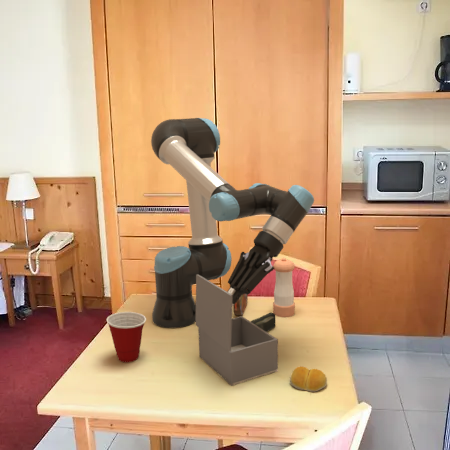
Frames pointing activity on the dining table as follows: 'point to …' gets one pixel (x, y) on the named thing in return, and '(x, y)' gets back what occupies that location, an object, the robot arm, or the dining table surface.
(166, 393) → the dining table surface
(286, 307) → the salt shaker
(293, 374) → the bread roll
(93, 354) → the dining table surface
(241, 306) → the tin
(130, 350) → the plastic cup
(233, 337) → the box
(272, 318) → the black elongated piece
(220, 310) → the box lid
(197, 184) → the robot arm
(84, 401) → the dining table surface
